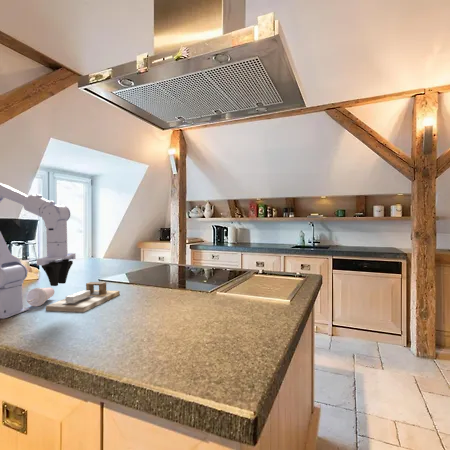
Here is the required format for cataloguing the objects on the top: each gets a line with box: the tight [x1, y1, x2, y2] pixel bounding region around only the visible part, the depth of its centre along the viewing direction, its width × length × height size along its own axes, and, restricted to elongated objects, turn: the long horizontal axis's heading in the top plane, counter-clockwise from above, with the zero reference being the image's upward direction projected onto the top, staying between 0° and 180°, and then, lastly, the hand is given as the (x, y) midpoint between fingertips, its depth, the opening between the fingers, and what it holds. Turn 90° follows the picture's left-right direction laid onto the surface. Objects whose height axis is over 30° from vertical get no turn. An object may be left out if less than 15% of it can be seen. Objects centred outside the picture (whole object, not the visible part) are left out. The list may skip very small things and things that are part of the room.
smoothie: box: [26, 286, 55, 308], centre depth 105 cm, size 6×6×14 cm
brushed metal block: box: [65, 290, 90, 303], centre depth 103 cm, size 9×3×2 cm, turn 170°
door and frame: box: [45, 281, 121, 313], centre depth 107 cm, size 22×14×6 cm, turn 170°
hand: (58, 284), depth 94 cm, fingers open, 3 cm apart
